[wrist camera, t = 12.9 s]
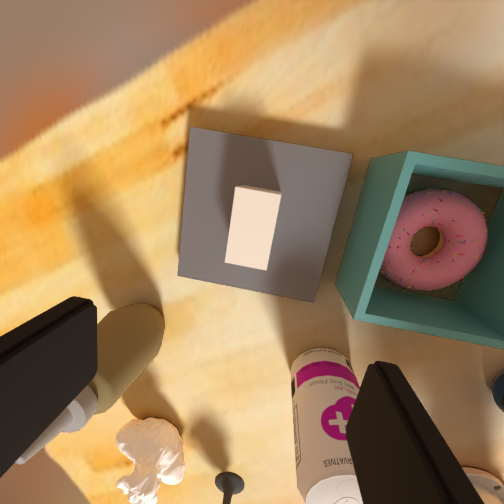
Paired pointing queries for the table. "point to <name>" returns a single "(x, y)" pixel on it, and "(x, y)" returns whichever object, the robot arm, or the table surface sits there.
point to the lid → (259, 212)
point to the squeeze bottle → (110, 368)
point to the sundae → (229, 485)
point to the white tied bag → (150, 458)
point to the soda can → (499, 390)
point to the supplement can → (324, 426)
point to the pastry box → (378, 236)
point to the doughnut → (450, 244)
